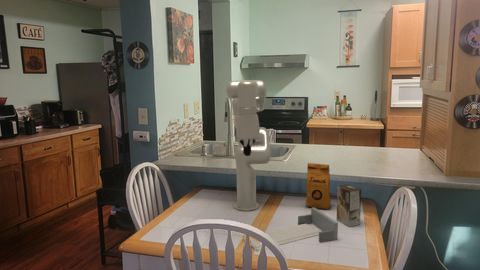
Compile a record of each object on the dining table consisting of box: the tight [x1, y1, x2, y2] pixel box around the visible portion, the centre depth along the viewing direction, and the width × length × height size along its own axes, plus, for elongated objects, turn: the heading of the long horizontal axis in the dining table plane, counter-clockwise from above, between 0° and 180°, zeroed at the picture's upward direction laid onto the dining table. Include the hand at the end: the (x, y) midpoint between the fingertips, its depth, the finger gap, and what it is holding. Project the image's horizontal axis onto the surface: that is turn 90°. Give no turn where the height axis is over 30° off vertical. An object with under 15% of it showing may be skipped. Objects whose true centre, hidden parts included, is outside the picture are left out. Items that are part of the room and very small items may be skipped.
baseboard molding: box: [242, 224, 320, 252], centre depth 147 cm, size 31×3×12 cm
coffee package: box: [305, 162, 332, 210], centre depth 180 cm, size 10×12×22 cm
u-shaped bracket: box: [297, 207, 339, 243], centre depth 152 cm, size 18×8×7 cm, turn 19°
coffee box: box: [336, 184, 362, 228], centre depth 161 cm, size 9×6×16 cm
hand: (247, 155), depth 152 cm, fingers closed
